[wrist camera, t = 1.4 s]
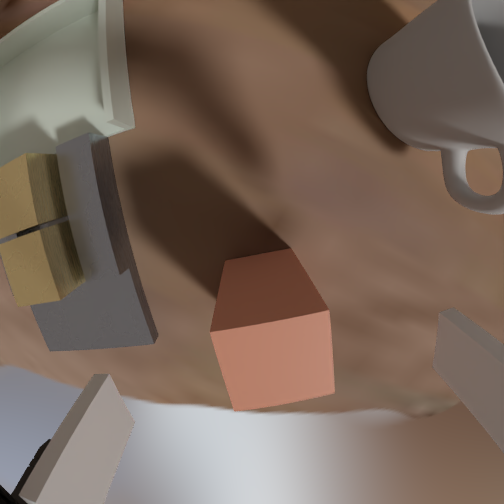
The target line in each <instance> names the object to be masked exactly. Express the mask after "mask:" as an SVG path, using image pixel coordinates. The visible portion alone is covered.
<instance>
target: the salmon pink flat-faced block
mask: <svg viewBox="0 0 504 504" xmlns="http://www.w3.org/2000/svg"><path fill="white" fill-rule="evenodd" d="M210 334H211V338H212V341H213V345H214V348H215V351H216V355H217V358H218V361H219V365H220V368H221V371H222V374H223V377H224V381H225V384H226V387H227V390H228V393H229V396H230V399H231V402H232V405H233V408H234V411H242V410H249V409H256V408H263V407H269V406H275V405H281V404H286V403H292V402H297V401H302V400H307V399H311V398H316V397H320V396H324V395H329V394H333V393H335V387H334V367H333V351H332V337H331V325H330V313H329V309H328V307H327V306H326V304H325V302H324V301H323V299H322V297H321V296H320V294H319V292H318V291H317V289H316V287H315V286H314V284H313V283H312V281H311V279H310V278H309V276H308V274H307V273H306V271H305V270H304V268H303V266H302V265H301V263H300V262H299V260H298V258H297V257H296V255H295V254H294V252H293V250H292V249H291V248H289V249H284V250H279V251H273V252H268V253H263V254H258V255H252V256H247V257H242V258H236V259H231V260H226V261H225V263H224V268H223V272H222V277H221V282H220V286H219V291H218V296H217V300H216V305H215V310H214V315H213V319H212V324H211V329H210Z"/></svg>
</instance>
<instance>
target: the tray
mask: <svg viewBox="0 0 504 504" xmlns="http://www.w3.org/2000/svg"><path fill="white" fill-rule="evenodd" d="M133 128H135V122H134V115H133V108H132V101H131V93H130V85H129V77H128V68H127V57H126V46H125V33H124V16H123V0H59V1H57V2H56V3H54V4H52V5H50V6H49V7H47V8H45V9H44V10H42V11H40V12H39V13H37V14H36V15H34V16H33V17H31V18H29V19H28V20H26V21H25V22H24V23H22V24H21V25H19V26H18V27H16V28H15V29H14V30H12V31H11V32H9V33H8V34H7V35H5V36H4V37H3V38H1V39H0V167H2V166H3V165H5V164H7V163H9V162H10V161H12V160H14V159H16V158H17V157H19V156H21V155H23V154H25V153H41V154H55V153H56V146H58V145H60V144H62V143H65V142H67V141H69V140H72V139H74V138H76V137H79V136H81V135H83V134H86V133H88V132H89V133H93V134H98V135H102V136H106V137H109V136H112V135H115V134H118V133H121V132H124V131H127V130H130V129H133Z"/></svg>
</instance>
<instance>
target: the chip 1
mask: <svg viewBox="0 0 504 504" xmlns="http://www.w3.org/2000/svg"><path fill="white" fill-rule="evenodd" d="M66 216H68V214H67V209H66V204H65V200H64V195H63V190H62V184H61V179H60V173H59V166H58V160H57V154H41V153H25V154H23V155H21V156H19V157H17V158H16V159H14V160H12V161H10V162H9V163H7V164H5V165H3V166H2V167H0V239H2V238H5V237H7V236H10V235H13V234H16V233H19V232H22V231H25V230H28V229H31V228H34V227H36V226H39V225H42V224H45V223H48V222H51V221H54V220H57V219H60V218H63V217H66Z"/></svg>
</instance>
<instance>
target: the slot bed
mask: <svg viewBox="0 0 504 504" xmlns="http://www.w3.org/2000/svg"><path fill="white" fill-rule="evenodd" d="M55 154H57V160H58V166H59V173H60V179H61V184H62V190H63V195H64V200H65V204H66V209H67V214H68V216H66V217H63V218H60V219H57V220H54V221H51V222H48V223H45V224H42V225H39V226H36V227H34V228H31V229H28V230H25V231H22V232H19V233H16V234H13V235H10V236H7V237H5V238H2V239H0V244H2V243H5V242H7V241H10V240H13V239H15V238H18V237H21V236H24V235H26V234H29V233H32V232H35V231H38V230H41V229H44V228H46V227H49V226H52V225H56V224H59V223H62V222H65V221H68V220H69V222H70V226H71V230H72V234H73V238H74V242H75V246H76V249H77V253H78V256H79V260H80V263H81V267H82V270H83V273H84V276H85V279H86V281H85V282H84V283H83V284H81V285H80V286H79V287H77V288H76V289H75V290H73V291H72V292H71V293H69V294H68V295H67V296H66V297H64V298H63V299H62V300H59V301H53V302H47V303H41V304H34V305H30V306H31V309H32V311H33V314H34V316H35V319H36V321H37V323H38V326H39V328H40V330H41V333H42V335H43V337H44V340H45V342H46V344H47V346H48V348H49V350H50V351H70V350H89V349H104V348H117V347H128V346H139V345H149V344H154V343H155V341H156V339H157V337H158V332H157V330H156V327H155V324H154V321H153V318H152V315H151V312H150V309H149V306H148V303H147V300H146V297H145V294H144V291H143V287H142V284H141V281H140V277H139V274H138V271H137V267H136V264H135V260H134V256H133V253H132V249H131V245H130V241H129V238H128V234H127V230H126V226H125V221H124V217H123V213H122V208H121V204H120V199H119V195H118V190H117V185H116V180H115V175H114V169H113V164H112V158H111V152H110V146H109V140H108V137H106V136H102V135H98V134H93V133H89V132H88V133H86V134H83V135H81V136H79V137H76V138H74V139H72V140H69V141H67V142H65V143H62V144H60V145H58V146H56V153H55ZM0 256H1V254H0ZM1 259H2V257H1ZM2 263H3V261H2ZM3 266H4V264H3ZM4 269H5V267H4ZM5 273H6V271H5ZM6 276H7V274H6ZM7 279H8V277H7ZM8 282H9V280H8ZM9 285H10V283H9ZM10 288H11V286H10ZM11 291H12V289H11ZM12 294H13V292H12ZM13 296H14V295H13Z"/></svg>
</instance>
